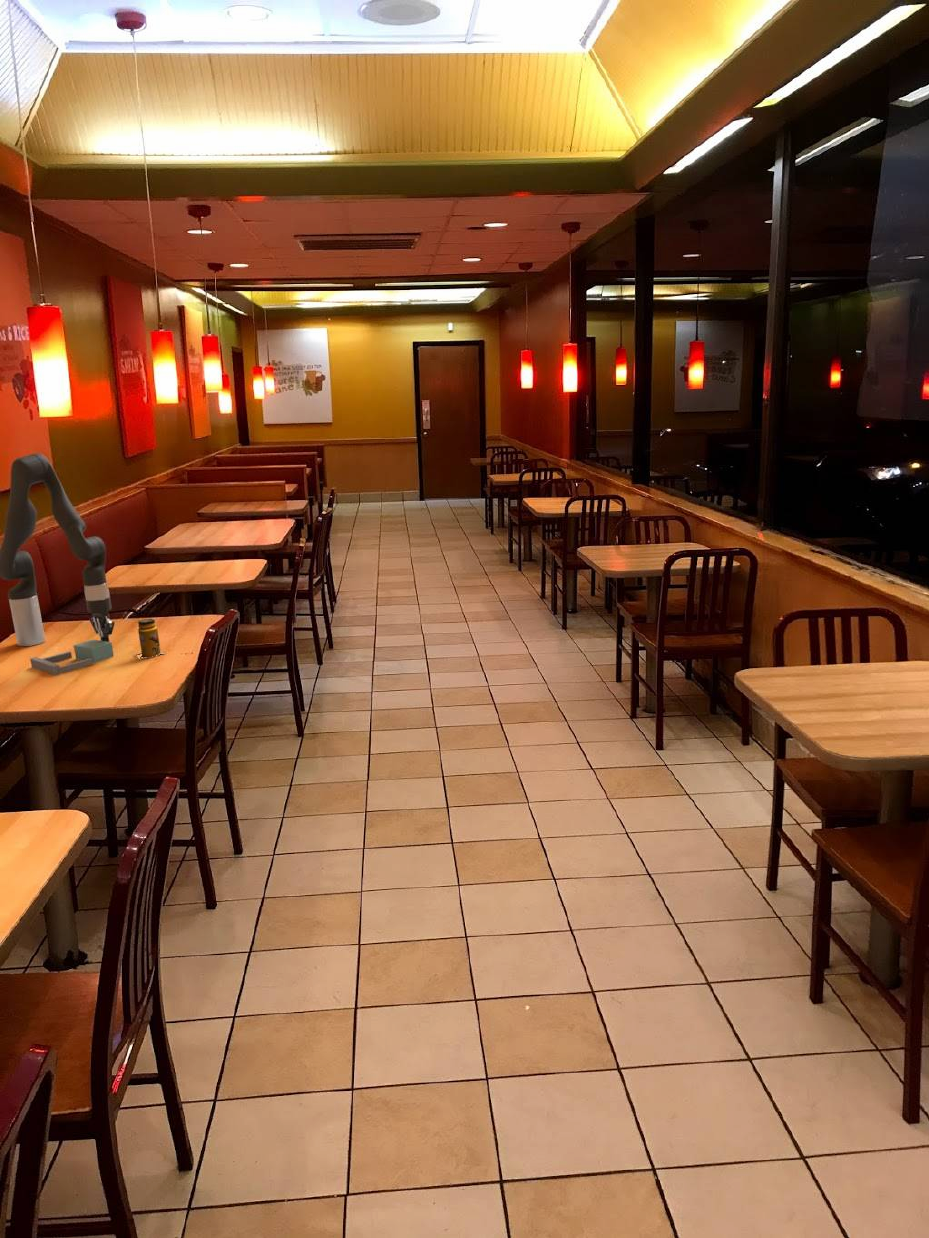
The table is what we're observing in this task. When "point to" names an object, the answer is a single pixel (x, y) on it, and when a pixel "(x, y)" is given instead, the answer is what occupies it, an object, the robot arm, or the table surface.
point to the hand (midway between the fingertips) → (106, 646)
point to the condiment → (148, 638)
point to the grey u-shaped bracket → (54, 669)
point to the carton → (93, 650)
